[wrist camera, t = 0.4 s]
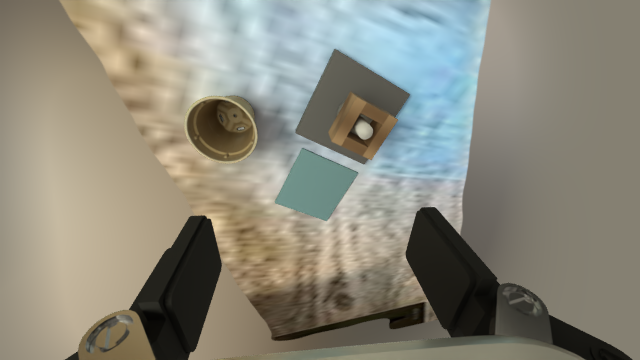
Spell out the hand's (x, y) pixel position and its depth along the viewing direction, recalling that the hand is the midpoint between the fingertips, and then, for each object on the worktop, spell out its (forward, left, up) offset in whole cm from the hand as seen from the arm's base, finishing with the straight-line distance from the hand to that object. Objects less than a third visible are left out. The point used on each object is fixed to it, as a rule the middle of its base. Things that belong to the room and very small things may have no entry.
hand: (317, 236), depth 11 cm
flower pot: (+8, -8, -33) cm, 35 cm away
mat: (+15, +10, -33) cm, 37 cm away
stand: (-1, +9, -33) cm, 34 cm away
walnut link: (-1, +9, -27) cm, 28 cm away
